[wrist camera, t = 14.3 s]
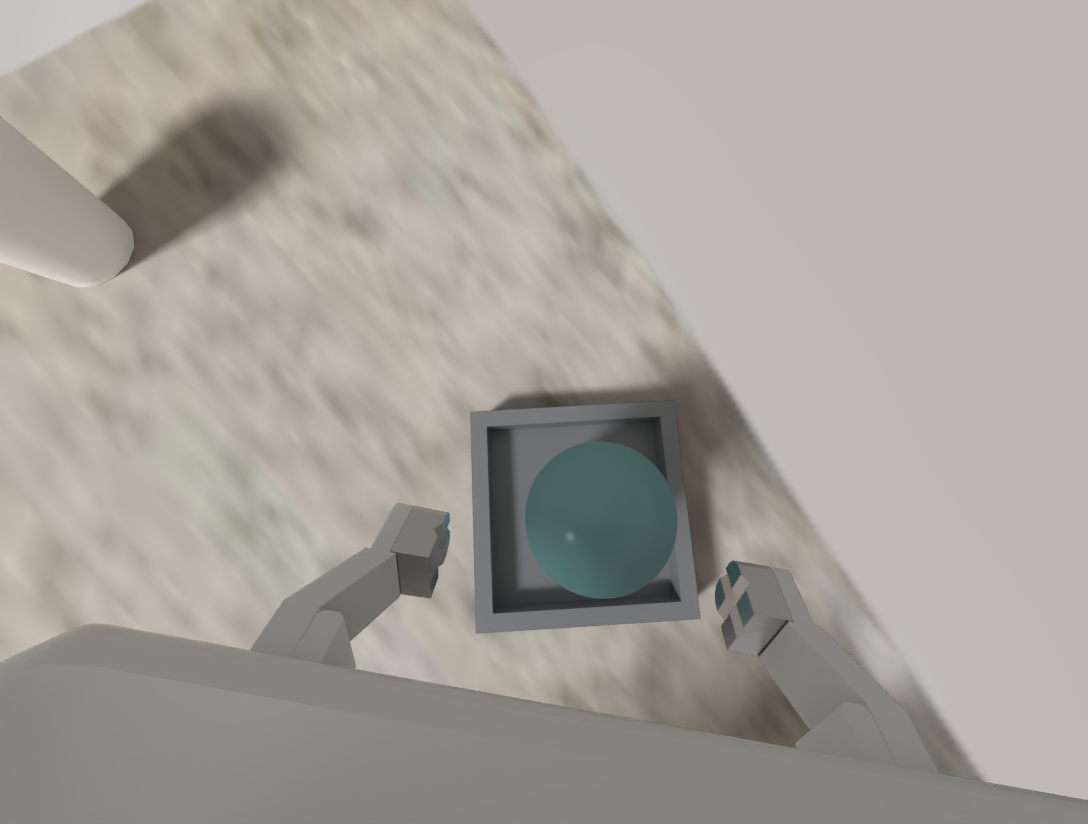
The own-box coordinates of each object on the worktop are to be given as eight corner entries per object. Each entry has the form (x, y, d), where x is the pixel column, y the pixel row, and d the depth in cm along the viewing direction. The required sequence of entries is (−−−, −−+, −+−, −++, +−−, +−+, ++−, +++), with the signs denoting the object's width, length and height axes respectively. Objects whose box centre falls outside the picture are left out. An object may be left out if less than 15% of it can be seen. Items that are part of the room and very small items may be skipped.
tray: (683, 605, 27) (700, 619, 24) (483, 618, 27) (475, 633, 24) (661, 409, 30) (673, 400, 27) (477, 420, 30) (470, 411, 27)
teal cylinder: (627, 554, 27) (686, 594, 16) (533, 559, 27) (528, 603, 16) (619, 459, 28) (668, 437, 17) (528, 464, 28) (521, 445, 17)
